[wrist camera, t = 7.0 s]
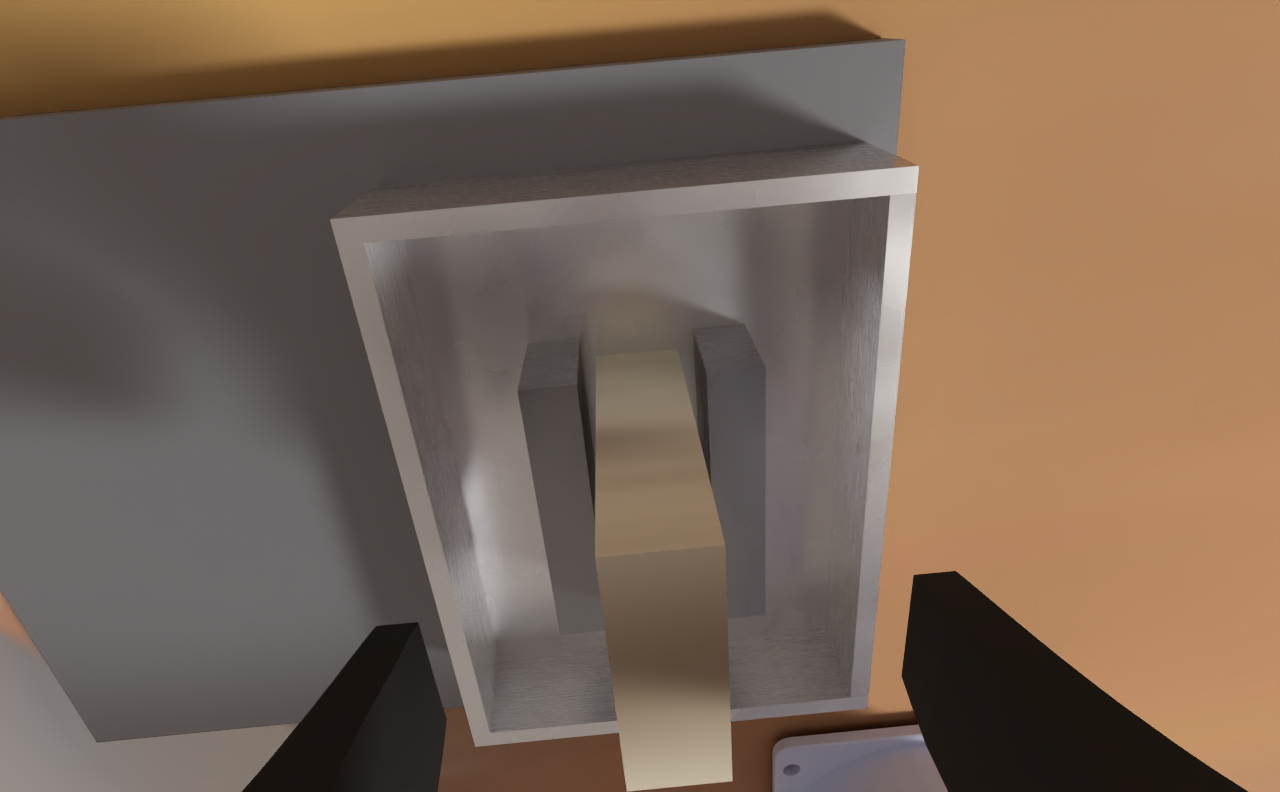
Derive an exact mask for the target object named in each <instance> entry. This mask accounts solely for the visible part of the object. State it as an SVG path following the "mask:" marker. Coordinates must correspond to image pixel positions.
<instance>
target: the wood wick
mask: <svg viewBox="0 0 1280 792" xmlns="http://www.w3.org/2000/svg"><path fill="white" fill-rule="evenodd" d="M595 561H596V569H597V576H598V584H599V591H600V598H601V606H602V613H603V620H604V628H605V635H606V642H607V650H608V657H609V664H610V672H611V679H612V686H613V694H614V701H615V709H616V716H617V723H618V731H619V738H620V745H621V753H622V760H623V767H624V775H625V782H626V789H627V792H628V791H639V790H649V789H659V788H669V787H679V786H689V785H699V784H709V783H720V782H730V781H733V778H732V745H731V712H730V679H729V645H728V612H727V579H726V546H725V541H724V537H723V533H722V529H721V525H720V521H719V517H718V512H717V508H716V504H715V500H714V496H713V492H712V488H711V484H710V480H709V476H708V471H707V467H706V463H705V459H704V455H703V451H702V447H701V443H700V439H699V435H698V430H697V426H696V422H695V418H694V414H693V410H692V406H691V402H690V398H689V394H688V389H687V385H686V381H685V377H684V373H683V369H682V365H681V361H680V357H679V353H678V349H670V350H659V351H649V352H638V353H627V354H616V355H606V356H596V455H595Z"/></svg>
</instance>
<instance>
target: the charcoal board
mask: <svg viewBox="0 0 1280 792" xmlns="http://www.w3.org/2000/svg"><path fill="white" fill-rule="evenodd" d="M905 41H906V40H904V39H887V38H884V39H873V40H861V41H850V42H839V43H828V44H816V45H805V46H794V47H783V48H771V49H760V50H749V51H738V52H727V53H715V54H704V55H693V56H682V57H670V58H659V59H648V60H637V61H626V62H614V63H603V64H592V65H581V66H569V67H558V68H547V69H536V70H524V71H513V72H502V73H491V74H480V75H468V76H457V77H446V78H435V79H423V80H412V81H401V82H390V83H379V84H367V85H356V86H345V87H334V88H322V89H311V90H300V91H289V92H277V93H266V94H255V95H244V96H233V97H221V98H210V99H199V100H188V101H176V102H165V103H154V104H143V105H132V106H120V107H109V108H98V109H87V110H75V111H64V112H53V113H42V114H30V115H19V116H8V117H0V590H1V592H2V593H3V595H4V597H5V598H6V600H7V601H8V603H9V604H10V606H11V608H12V609H13V611H14V612H15V614H16V615H17V617H18V619H19V620H20V622H21V623H22V625H23V627H24V628H25V630H26V631H27V633H28V634H29V636H30V638H31V639H32V641H33V642H34V644H35V645H36V647H37V649H38V650H39V652H40V653H41V655H42V656H43V658H44V660H45V661H46V663H47V664H48V666H49V667H50V669H51V671H52V672H53V674H54V675H55V677H56V678H57V680H58V682H59V683H60V685H61V686H62V688H63V690H64V691H65V693H66V694H67V696H68V697H69V699H70V701H71V702H72V704H73V705H74V707H75V708H76V710H77V711H78V713H79V715H80V716H81V718H82V720H83V721H84V723H85V724H86V725H87V727H88V729H89V730H90V732H91V733H92V735H93V737H94V738H95V740H96V742H105V741H116V740H127V739H136V738H148V737H158V736H167V735H178V734H189V733H199V732H209V731H219V730H229V729H240V728H250V727H260V726H271V725H281V724H291V723H300V722H301V720H302V719H303V718H304V717H305V716H306V714H307V713H308V712H309V711H310V709H311V708H312V707H313V706H314V704H315V703H316V702H317V700H318V699H319V698H320V697H321V695H322V694H323V693H324V691H325V690H326V689H327V688H328V686H329V685H330V684H331V683H332V681H333V680H334V679H335V677H336V676H337V675H338V673H339V672H340V671H341V670H342V668H343V667H344V666H345V664H346V663H347V662H348V661H349V659H350V658H351V657H352V655H353V654H354V653H355V651H356V650H357V649H358V648H359V646H360V645H361V644H362V643H363V641H364V640H365V639H366V637H367V636H368V635H369V634H370V632H371V631H372V630H373V629H374V628H375V627H376V626H381V625H392V624H402V623H413V622H418V623H419V627H420V630H421V633H422V637H423V640H424V644H425V647H426V650H427V654H428V657H429V661H430V664H431V668H432V671H433V674H434V678H435V681H436V685H437V688H438V692H439V695H440V698H441V702H442V705H443V709H445V708H455V707H464V704H463V701H462V697H461V693H460V690H459V686H458V682H457V679H456V675H455V672H454V668H453V664H452V661H451V657H450V653H449V650H448V646H447V643H446V639H445V635H444V632H443V628H442V624H441V621H440V617H439V613H438V610H437V606H436V603H435V599H434V595H433V592H432V588H431V584H430V581H429V577H428V574H427V570H426V566H425V563H424V559H423V555H422V552H421V548H420V545H419V541H418V537H417V534H416V530H415V526H414V523H413V519H412V516H411V512H410V508H409V505H408V501H407V497H406V494H405V490H404V486H403V483H402V479H401V476H400V472H399V468H398V465H397V461H396V457H395V454H394V450H393V447H392V443H391V439H390V436H389V432H388V428H387V425H386V421H385V418H384V414H383V410H382V407H381V403H380V399H379V396H378V392H377V389H376V385H375V381H374V378H373V374H372V370H371V367H370V363H369V359H368V356H367V352H366V349H365V345H364V341H363V338H362V334H361V330H360V327H359V323H358V320H357V316H356V312H355V309H354V305H353V301H352V298H351V294H350V291H349V287H348V283H347V280H346V276H345V272H344V269H343V265H342V262H341V258H340V254H339V251H338V247H337V243H336V240H335V236H334V232H333V229H332V225H331V222H330V219H331V218H332V217H334V216H335V215H336V214H338V213H339V212H340V211H342V210H343V209H345V208H346V207H347V206H349V205H350V204H351V203H353V202H354V201H355V200H357V199H358V198H359V197H361V196H362V195H363V194H365V193H366V192H368V191H369V190H370V189H372V188H373V187H374V186H376V185H387V184H398V183H409V182H420V181H431V180H442V179H453V178H464V177H475V176H486V175H497V174H508V173H520V172H531V171H542V170H553V169H564V168H575V167H586V166H597V165H608V164H619V163H630V162H641V161H652V160H663V159H674V158H685V157H696V156H707V155H719V154H730V153H741V152H752V151H763V150H774V149H785V148H796V147H807V146H818V145H829V144H840V143H851V142H862V141H865V142H867V143H869V144H872V145H874V146H876V147H878V148H881V149H883V150H885V151H887V152H889V153H892V154H894V155H896V152H897V139H898V127H899V115H900V102H901V90H902V78H903V65H904V53H905Z"/></svg>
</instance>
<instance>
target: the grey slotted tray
mask: <svg viewBox="0 0 1280 792" xmlns="http://www.w3.org/2000/svg"><path fill="white" fill-rule="evenodd" d="M918 171H919V166H918V165H916V164H914V163H912V162H909V161H907V160H905V159H903V158H901V157H898V156H896V155H894V154H892V153H889V152H887V151H885V150H883V149H881V148H878V147H876V146H874V145H872V144H869V143H867V142H865V141H862V142H851V143H840V144H829V145H818V146H807V147H796V148H785V149H774V150H763V151H752V152H741V153H730V154H719V155H707V156H696V157H685V158H674V159H663V160H652V161H641V162H630V163H619V164H608V165H597V166H586V167H575V168H564V169H553V170H542V171H531V172H520V173H508V174H497V175H486V176H475V177H464V178H453V179H442V180H431V181H420V182H409V183H398V184H387V185H376V186H374V187H373V188H372V189H370V190H369V191H368V192H366V193H365V194H363V195H362V196H361V197H359V198H358V199H357V200H355V201H354V202H353V203H351V204H350V205H349V206H347V207H346V208H345V209H343V210H342V211H340V212H339V213H338V214H336V215H335V216H334V217H332V218H331V219H330V222H331V225H332V229H333V232H334V236H335V240H336V243H337V247H338V251H339V254H340V258H341V262H342V265H343V269H344V272H345V276H346V280H347V283H348V287H349V291H350V294H351V298H352V301H353V305H354V309H355V312H356V316H357V320H358V323H359V327H360V330H361V334H362V338H363V341H364V345H365V349H366V352H367V356H368V359H369V363H370V367H371V370H372V374H373V378H374V381H375V385H376V389H377V392H378V396H379V399H380V403H381V407H382V410H383V414H384V418H385V421H386V425H387V428H388V432H389V436H390V439H391V443H392V447H393V450H394V454H395V457H396V461H397V465H398V468H399V472H400V476H401V479H402V483H403V486H404V490H405V494H406V497H407V501H408V505H409V508H410V512H411V516H412V519H413V523H414V526H415V530H416V534H417V537H418V541H419V545H420V548H421V552H422V555H423V559H424V563H425V566H426V570H427V574H428V577H429V581H430V584H431V588H432V592H433V595H434V599H435V603H436V606H437V610H438V613H439V617H440V621H441V624H442V628H443V632H444V635H445V639H446V643H447V646H448V650H449V653H450V657H451V661H452V664H453V668H454V672H455V675H456V679H457V682H458V686H459V690H460V693H461V697H462V701H463V704H464V708H465V711H466V715H467V719H468V722H469V726H470V730H471V733H472V737H473V740H474V744H475V747H479V746H489V745H499V744H510V743H520V742H530V741H540V740H550V739H560V738H571V737H581V736H591V735H601V734H611V733H619V731H618V723H617V716H616V709H615V701H614V694H613V686H612V679H611V672H610V664H609V657H608V650H607V642H606V635H605V628H604V620H603V613H602V606H601V598H600V591H599V584H598V576H597V569H596V561H595V455H596V356H606V355H616V354H627V353H638V352H649V351H659V350H670V349H678V353H679V357H680V361H681V365H682V369H683V373H684V377H685V381H686V385H687V389H688V394H689V398H690V402H691V406H692V410H693V414H694V418H695V422H696V426H697V430H698V435H699V439H700V443H701V447H702V451H703V455H704V459H705V463H706V467H707V471H708V476H709V480H710V484H711V488H712V492H713V496H714V500H715V504H716V508H717V512H718V517H719V521H720V525H721V529H722V533H723V537H724V541H725V546H726V579H727V612H728V645H729V679H730V712H731V722H734V721H744V720H754V719H764V718H774V717H784V716H795V715H805V714H815V713H825V712H835V711H846V710H856V709H866V708H867V705H868V695H869V685H870V674H871V664H872V653H873V643H874V632H875V622H876V611H877V601H878V590H879V580H880V569H881V559H882V548H883V538H884V527H885V517H886V506H887V496H888V486H889V475H890V465H891V454H892V444H893V433H894V423H895V412H896V402H897V391H898V381H899V370H900V360H901V349H902V339H903V328H904V318H905V308H906V297H907V287H908V276H909V266H910V255H911V245H912V234H913V224H914V213H915V203H916V192H917V182H918Z"/></svg>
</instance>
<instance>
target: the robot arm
mask: <svg viewBox="0 0 1280 792" xmlns="http://www.w3.org/2000/svg"><path fill="white" fill-rule="evenodd" d="M902 678H903V681H904V684H905V687H906V690H907V693H908V696H909V699H910V702H911V705H912V708H913V711H914V714H915V717H916V719H917V722H918V725H908V726H898V727H888V728H878V729H867V730H857V731H847V732H837V733H827V734H817V735H807V736H796V737H788V738H784V739H782V740H780V741H778V742H777V743H776V744H775V745H774V748H773V772H772V792H1248V791H1246V790H1245V789H1243V788H1242V787H1240V786H1239V785H1237V784H1235V783H1234V782H1232V781H1231V780H1229V779H1228V778H1226V777H1225V776H1223V775H1221V774H1220V773H1218V772H1217V771H1215V770H1214V769H1212V768H1211V767H1209V766H1208V765H1206V764H1205V763H1203V762H1202V761H1200V760H1199V759H1197V758H1196V757H1194V756H1193V755H1191V754H1190V753H1188V752H1187V751H1185V750H1184V749H1183V748H1181V747H1180V746H1178V745H1177V744H1175V743H1174V742H1173V741H1171V740H1170V739H1168V738H1167V737H1166V736H1164V735H1163V734H1161V733H1160V732H1159V731H1157V730H1156V729H1154V728H1153V727H1152V726H1150V725H1149V724H1148V723H1146V722H1145V721H1143V720H1142V719H1141V718H1139V717H1138V716H1136V715H1135V714H1134V713H1132V712H1131V711H1129V710H1128V709H1127V708H1125V707H1124V706H1123V705H1121V704H1120V703H1119V702H1117V701H1116V700H1115V699H1113V698H1112V697H1111V696H1109V695H1108V694H1107V693H1105V692H1104V691H1103V690H1101V689H1100V688H1099V687H1097V686H1096V685H1095V684H1094V683H1092V682H1091V681H1090V680H1088V679H1087V678H1086V677H1085V676H1083V675H1082V674H1081V673H1079V672H1078V671H1077V670H1076V669H1074V668H1073V667H1072V666H1071V665H1069V664H1068V663H1067V662H1065V661H1064V660H1063V659H1062V658H1060V657H1059V656H1058V655H1057V654H1055V653H1054V652H1053V651H1052V650H1050V649H1049V648H1048V647H1047V646H1046V645H1044V644H1043V643H1042V642H1041V641H1039V640H1038V639H1037V638H1036V637H1034V636H1033V635H1032V634H1031V633H1030V632H1028V631H1027V630H1026V629H1025V628H1024V627H1022V626H1021V625H1020V624H1019V623H1018V622H1016V621H1015V620H1014V619H1013V618H1011V617H1010V616H1009V615H1008V614H1007V613H1006V612H1004V611H1003V610H1002V609H1001V608H1000V607H998V606H997V605H996V604H995V603H994V602H992V601H991V600H990V599H989V598H988V597H986V596H985V595H984V594H983V593H982V592H980V591H979V590H978V589H977V588H976V587H974V586H973V585H972V584H971V583H970V582H968V581H967V580H966V579H965V578H964V577H962V576H961V575H960V574H959V573H957V572H956V571H951V572H941V573H930V574H919V575H914V577H913V586H912V594H911V602H910V611H909V619H908V627H907V636H906V644H905V652H904V661H903V669H902ZM446 721H447V719H446V716H445V712H444V709H443V705H442V702H441V698H440V695H439V692H438V688H437V685H436V681H435V678H434V674H433V671H432V668H431V664H430V661H429V657H428V654H427V650H426V647H425V644H424V640H423V637H422V633H421V630H420V627H419V623H418V622H413V623H402V624H392V625H381V626H376V627H375V628H374V629H373V630H372V631H371V632H370V634H369V635H368V636H367V637H366V639H365V640H364V641H363V643H362V644H361V645H360V646H359V648H358V649H357V650H356V651H355V653H354V654H353V655H352V657H351V658H350V659H349V661H348V662H347V663H346V664H345V666H344V667H343V668H342V670H341V671H340V672H339V673H338V675H337V676H336V677H335V679H334V680H333V681H332V683H331V684H330V685H329V686H328V688H327V689H326V690H325V691H324V693H323V694H322V695H321V697H320V698H319V699H318V700H317V702H316V703H315V704H314V706H313V707H312V708H311V709H310V711H309V712H308V713H307V714H306V716H305V717H304V718H303V719H302V720H301V722H300V723H299V724H298V725H297V727H296V728H295V729H294V730H293V732H292V733H291V734H290V735H289V736H288V738H287V739H286V740H285V741H284V743H283V744H282V745H281V746H280V748H279V749H278V750H277V752H275V754H274V755H273V756H272V757H271V759H270V760H269V761H268V762H267V763H266V764H265V766H264V767H263V768H262V769H261V770H260V772H259V773H258V774H257V775H256V776H255V777H254V779H253V780H252V781H251V782H250V783H249V784H248V785H247V786H246V788H245V789H244V790H243V791H242V792H437V791H438V783H439V776H440V769H441V762H442V754H443V746H444V738H445V729H446Z"/></svg>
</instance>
